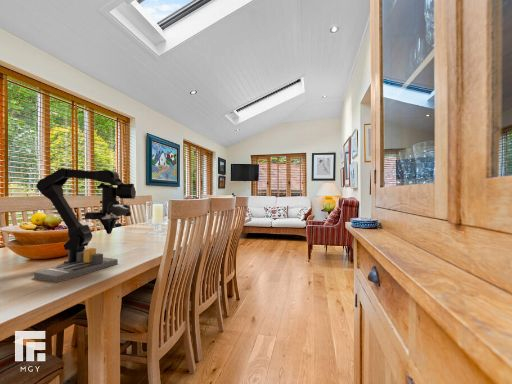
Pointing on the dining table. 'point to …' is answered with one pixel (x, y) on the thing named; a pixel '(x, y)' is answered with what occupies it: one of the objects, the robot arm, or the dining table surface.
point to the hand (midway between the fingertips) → (109, 233)
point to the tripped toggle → (89, 254)
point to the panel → (75, 268)
